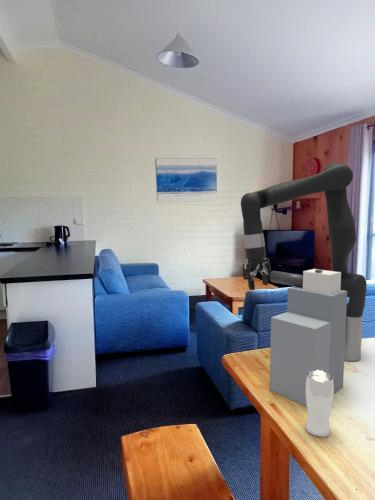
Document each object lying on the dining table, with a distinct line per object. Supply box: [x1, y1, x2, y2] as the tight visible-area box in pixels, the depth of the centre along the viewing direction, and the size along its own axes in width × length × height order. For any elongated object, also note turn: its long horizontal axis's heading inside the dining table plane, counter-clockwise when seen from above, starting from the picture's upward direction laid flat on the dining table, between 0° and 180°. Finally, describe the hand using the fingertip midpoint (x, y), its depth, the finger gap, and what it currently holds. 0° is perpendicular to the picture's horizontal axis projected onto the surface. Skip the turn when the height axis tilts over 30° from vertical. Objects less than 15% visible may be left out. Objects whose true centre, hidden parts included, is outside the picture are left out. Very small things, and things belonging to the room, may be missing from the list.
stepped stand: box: [269, 286, 348, 407], centre depth 112 cm, size 19×15×32 cm
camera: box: [269, 268, 341, 295], centre depth 117 cm, size 7×23×7 cm, turn 41°
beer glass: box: [305, 370, 335, 438], centre depth 92 cm, size 7×7×15 cm
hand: (259, 287), depth 136 cm, fingers open, 8 cm apart
